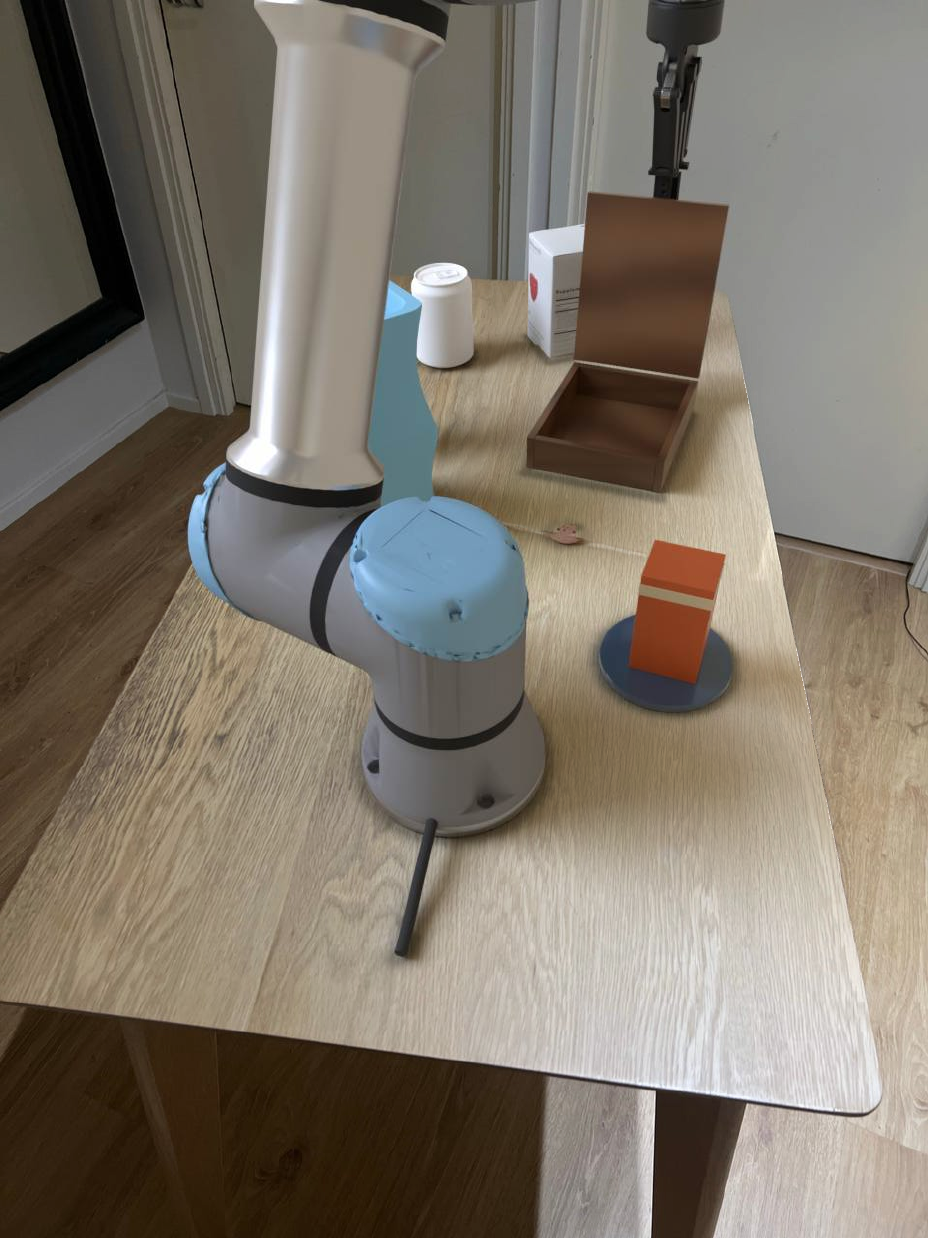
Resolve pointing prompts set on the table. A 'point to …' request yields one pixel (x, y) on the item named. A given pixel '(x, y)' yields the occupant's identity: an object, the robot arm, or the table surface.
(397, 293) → the vase
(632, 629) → the plate
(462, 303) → the beverage can
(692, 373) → the chest lid
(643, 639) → the box
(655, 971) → the table surface
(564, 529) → the cookie
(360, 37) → the robot arm
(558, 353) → the white product box
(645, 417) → the chest
